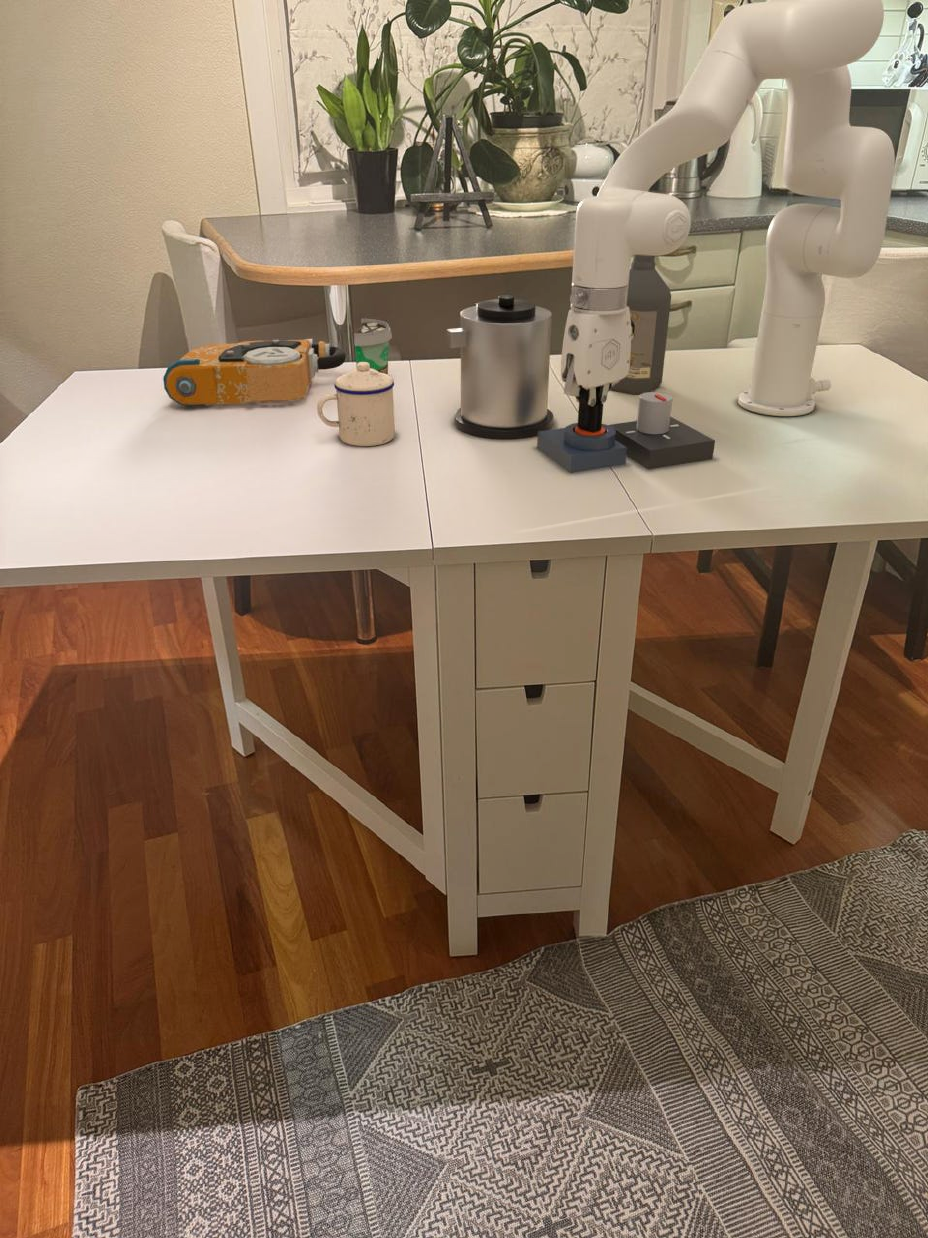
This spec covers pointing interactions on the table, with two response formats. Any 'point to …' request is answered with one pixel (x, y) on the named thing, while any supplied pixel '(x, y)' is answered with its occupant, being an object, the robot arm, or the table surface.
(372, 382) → the teacup with lid
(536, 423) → the kettle
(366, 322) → the food container
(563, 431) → the button housing
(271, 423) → the table surface
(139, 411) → the table surface
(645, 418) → the dial
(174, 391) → the device
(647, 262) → the liquor
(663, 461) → the console
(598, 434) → the button
